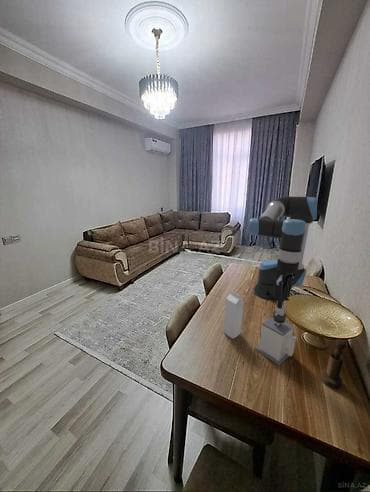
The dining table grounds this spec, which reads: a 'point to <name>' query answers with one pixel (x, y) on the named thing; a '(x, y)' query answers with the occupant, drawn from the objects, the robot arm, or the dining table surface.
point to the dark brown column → (334, 367)
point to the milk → (233, 315)
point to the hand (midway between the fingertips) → (279, 313)
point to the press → (276, 341)
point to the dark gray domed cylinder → (279, 318)
